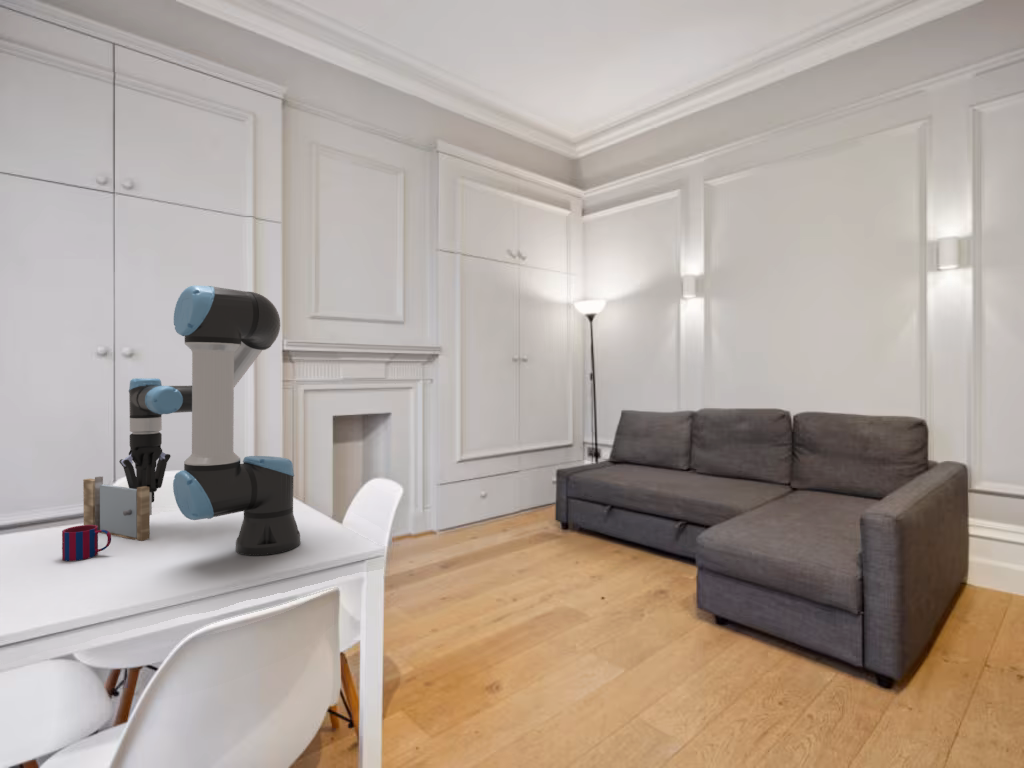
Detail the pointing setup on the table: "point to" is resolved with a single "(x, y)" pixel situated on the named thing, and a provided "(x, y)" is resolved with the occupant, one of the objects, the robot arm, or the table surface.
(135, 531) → the door
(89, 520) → the doorframe
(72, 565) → the table surface
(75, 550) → the mug
